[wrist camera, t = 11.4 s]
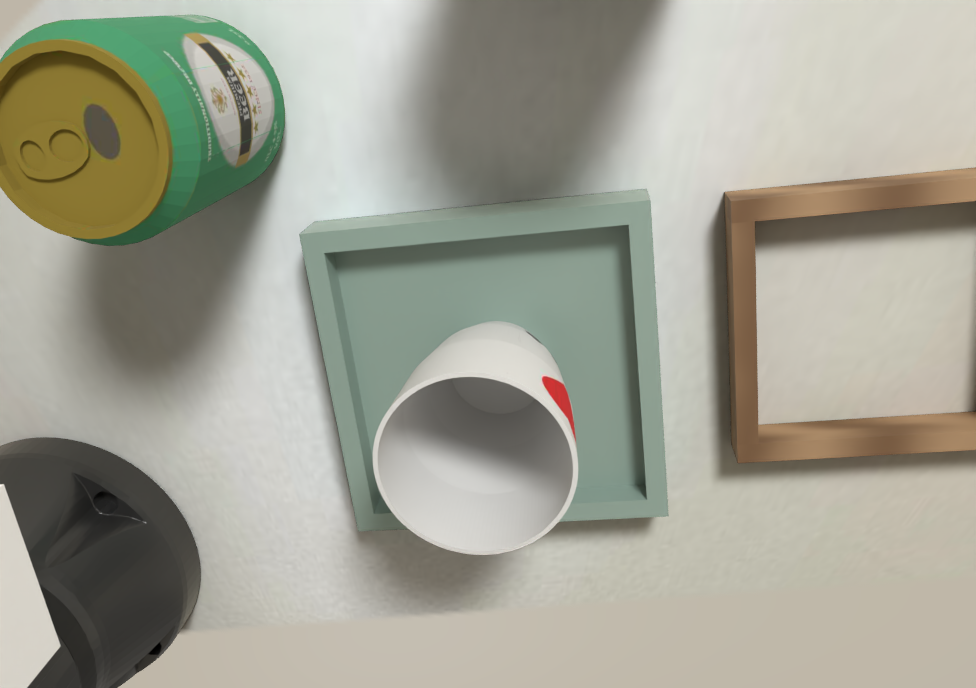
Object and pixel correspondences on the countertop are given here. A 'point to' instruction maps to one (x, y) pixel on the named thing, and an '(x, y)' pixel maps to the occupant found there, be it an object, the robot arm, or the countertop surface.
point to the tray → (509, 298)
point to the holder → (742, 327)
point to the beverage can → (133, 122)
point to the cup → (480, 443)
